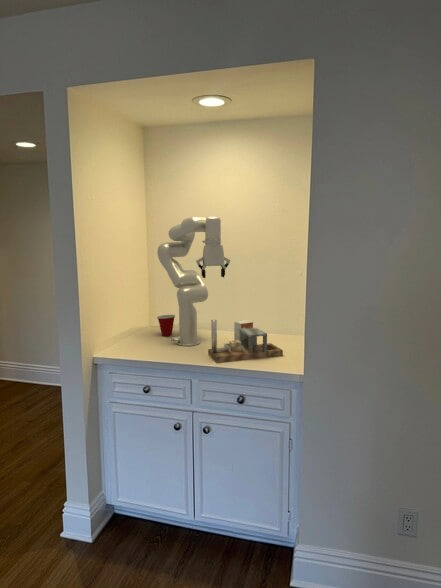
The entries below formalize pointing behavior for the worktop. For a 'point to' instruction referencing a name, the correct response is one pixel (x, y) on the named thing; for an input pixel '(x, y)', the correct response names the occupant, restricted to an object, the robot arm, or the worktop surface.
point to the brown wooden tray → (248, 348)
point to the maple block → (235, 346)
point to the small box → (241, 327)
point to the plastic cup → (166, 324)
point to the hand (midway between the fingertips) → (213, 277)
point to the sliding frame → (214, 340)
